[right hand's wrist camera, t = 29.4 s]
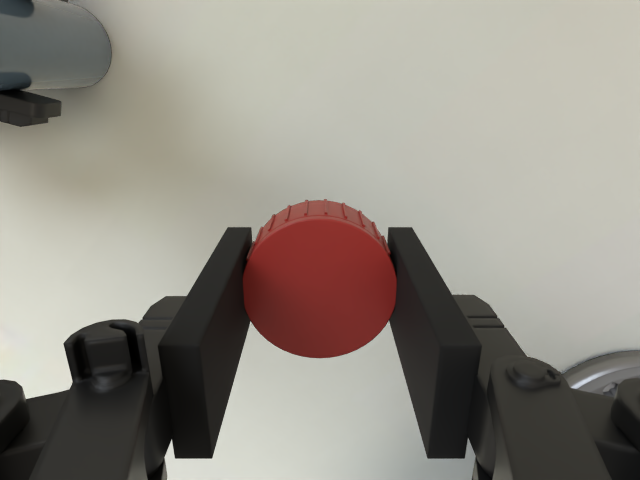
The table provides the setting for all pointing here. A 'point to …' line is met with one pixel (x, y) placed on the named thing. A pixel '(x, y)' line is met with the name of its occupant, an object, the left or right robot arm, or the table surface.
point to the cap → (319, 280)
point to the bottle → (50, 46)
